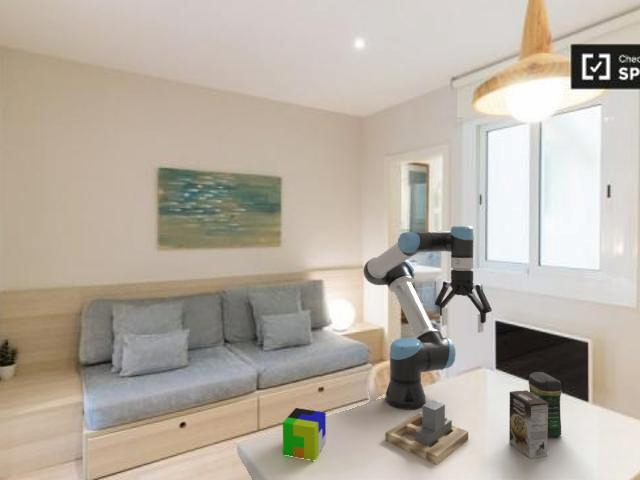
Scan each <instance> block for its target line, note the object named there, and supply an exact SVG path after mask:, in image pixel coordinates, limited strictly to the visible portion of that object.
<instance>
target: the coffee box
mask: <svg viewBox="0 0 640 480" xmlns="http://www.w3.org/2000/svg"><path fill="white" fill-rule="evenodd" d="M508 434H509V438H508V439H509V444H510V445H512V446H514V448H515V449H517V450H518V451H519V452H521V453H523V455H525V456H526V457H527V458H529V459H536V458H542V457H548V437H547V434H548V402H546V401H544V400H543V399H541V398H539V397H537V396H536V395H534V394H532V393H530V390H515V391H514V390H513V391H509V433H508Z"/></svg>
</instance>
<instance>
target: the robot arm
mask: <svg viewBox="0 0 640 480" xmlns="http://www.w3.org/2000/svg"><path fill="white" fill-rule="evenodd" d="M474 240H475V238H474V229H473V226H470V225H467V226H466V225H462V226H461V225H455V226H454V225H453V226H451V228H450V231H442V230H440V231H439V230H436V231H407V232H402V233H400V235H399V237H398V238H397V242H396V243H395V244H394V245H393V246H390V248H388V249H386V250H385V251H384V252H382V253H381V254H380V255H378V256H377V257H371V258H370V259H369V260H368V261H367V262H366V263H365V264H364V267H363V270H362V271H363V276H364V278H365V279H366V281H367V282H369V283H370V284H372V285H375V286H387V287H388V290H389V291H390V292H392V293H394V294H395V296H396V299H397V301H398V303H399V305H400V307H401V309H402V311H403V314H404V316H405V318H406V321H407V322H408V324H409V326H410V328H411V331H412V334H413V335H414V337H401V338H398V339H396V340H394V341H392V342H391V344H390V347H389V349H390V351H389V382H388V384H387V385H388V386H387V389H386V392H385V401H386V403H387V404H388V405H390V406H392V407H394V408H397V409H402V410H416V409H417V410H418V409H420V408H423V405H424V404H426V403H427V401H426V397H427V396H426V394H425V392H424V387H423V384H422V373H427V372H433V371H442V370H445V369H449V368H451V367H452V366H453V365H454V363H455V361H456V355H457V353H456V347H455V344H454V342H453V341H452V339H450V338H448V337H443V335H442V333H441V331H440V330H439V329H435V327H434V325H433V323H432V321H431V319H430V317H429V316H428V313H427V311H426V309H425V307H424V306H423V303H422V301H421V300H420V298H419V296H418V294H417V292H416V290H415V288H414V286H413V283H414V279H415V269H414V267H413V265H412V263H411V262H410V261H409V260H408V259H410V258H412V257H413V256H415V255H417V254H418V253H430V252H431V253H433V252H446V253H447V252H450V267H451V270H450V279H451V280H450V281H449V280H445V281H442V286H441V289H440V291H439V294H438V296H437V298H436V300H435V302H434V305H435V306H438V307H439V316H440V317H441V326H442V327H444V326H445V327H446V326H447V325H448V306H447V305H448V303H450V301H451V300H453V298H454V297H455V296H463V297H467V298H468V299H470V301H471V302H472V303H473V305H474V306H475V308H476V309H477V311H478V313H477V333H483V332H484V324H486V321H487V313H491V312H492V307H491V305H490V303H489V301H488V299H487V296H486V295H485V292H484V288H483V284H481V283H478V284H474V270H473V269H474ZM449 288H451V290H450V292H449V293H448V295H447V292H448V290H449ZM473 290H474V291H475V292H476V293H477V295H476V294H475V292H474V291H473ZM446 295H447V296H446ZM477 296H478V297H477Z"/></svg>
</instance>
